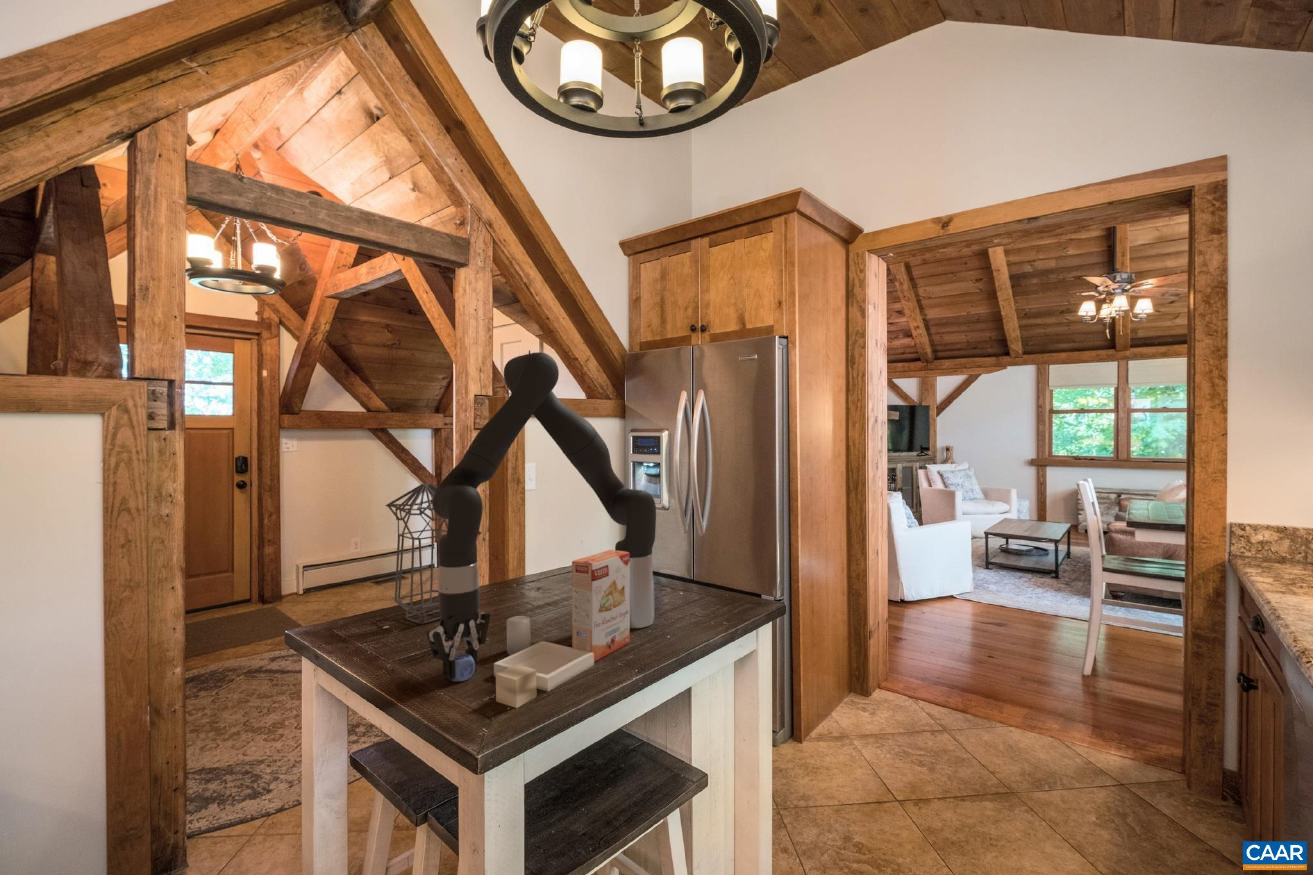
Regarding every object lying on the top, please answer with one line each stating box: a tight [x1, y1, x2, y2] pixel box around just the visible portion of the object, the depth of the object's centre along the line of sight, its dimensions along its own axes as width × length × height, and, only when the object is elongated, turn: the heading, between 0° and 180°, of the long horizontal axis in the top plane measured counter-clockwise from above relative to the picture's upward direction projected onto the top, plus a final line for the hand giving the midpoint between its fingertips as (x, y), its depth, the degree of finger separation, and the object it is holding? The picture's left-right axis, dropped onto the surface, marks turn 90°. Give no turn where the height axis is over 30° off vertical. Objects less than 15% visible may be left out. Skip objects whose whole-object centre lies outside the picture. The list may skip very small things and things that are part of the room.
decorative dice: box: [451, 653, 475, 683], centre depth 114 cm, size 4×4×4 cm
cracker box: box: [571, 549, 631, 663], centre depth 127 cm, size 14×6×21 cm, turn 148°
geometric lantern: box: [385, 482, 448, 625], centre depth 153 cm, size 16×16×35 cm
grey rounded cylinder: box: [506, 615, 532, 656], centre depth 128 cm, size 5×5×7 cm
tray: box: [493, 640, 595, 692], centre depth 118 cm, size 14×14×2 cm
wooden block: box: [495, 664, 537, 709], centre depth 105 cm, size 5×5×5 cm
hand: (460, 672), depth 114 cm, fingers closed on decorative dice, 4 cm apart
